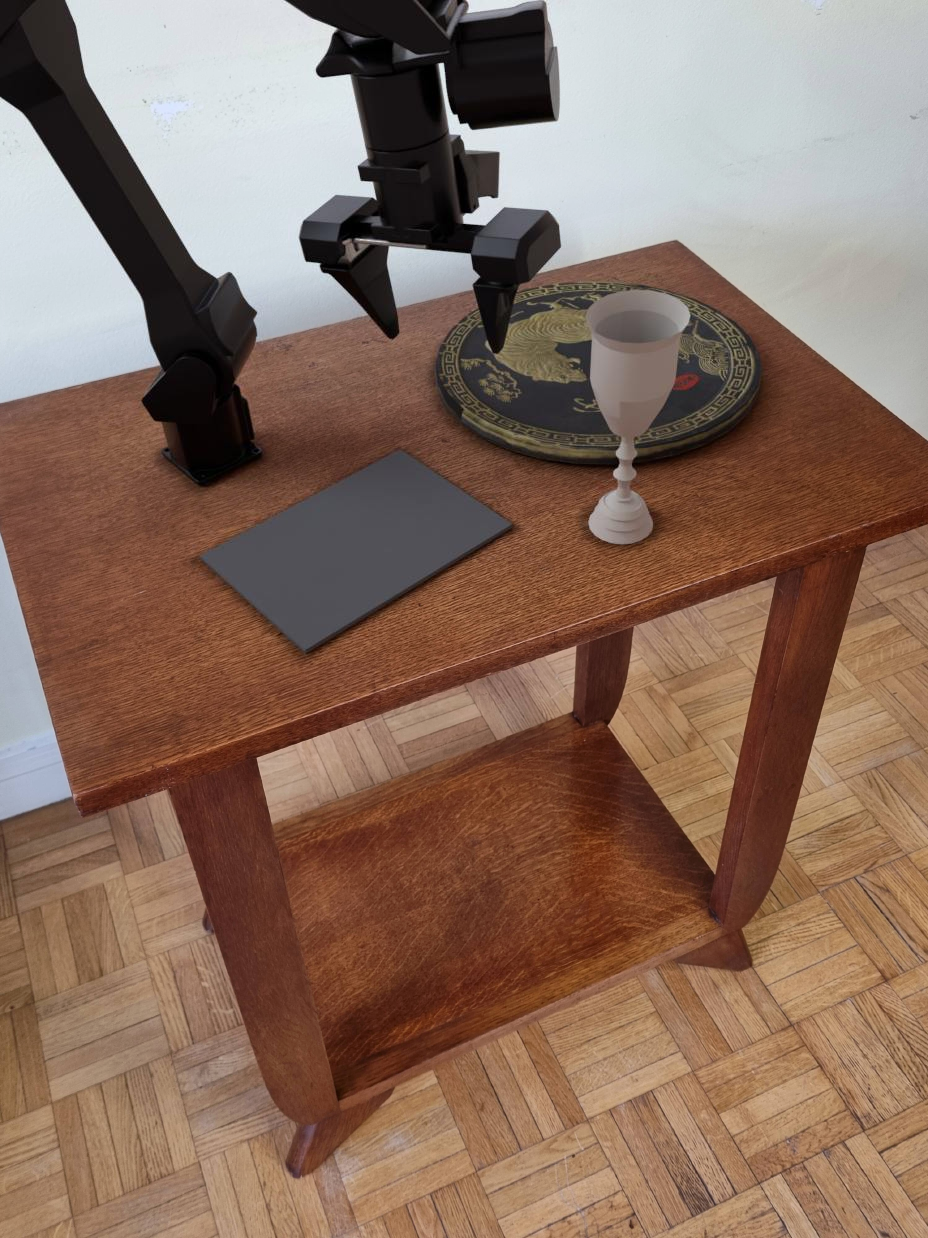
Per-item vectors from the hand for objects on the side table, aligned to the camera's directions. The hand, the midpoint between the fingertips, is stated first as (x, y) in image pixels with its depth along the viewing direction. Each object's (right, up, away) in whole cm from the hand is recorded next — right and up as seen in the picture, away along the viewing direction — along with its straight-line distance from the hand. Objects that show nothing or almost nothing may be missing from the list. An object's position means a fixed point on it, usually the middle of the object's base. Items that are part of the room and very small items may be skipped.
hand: (445, 343), depth 83 cm
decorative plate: (+14, +2, +18) cm, 23 cm away
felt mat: (-7, -15, +2) cm, 17 cm away
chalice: (+14, -14, +3) cm, 20 cm away
